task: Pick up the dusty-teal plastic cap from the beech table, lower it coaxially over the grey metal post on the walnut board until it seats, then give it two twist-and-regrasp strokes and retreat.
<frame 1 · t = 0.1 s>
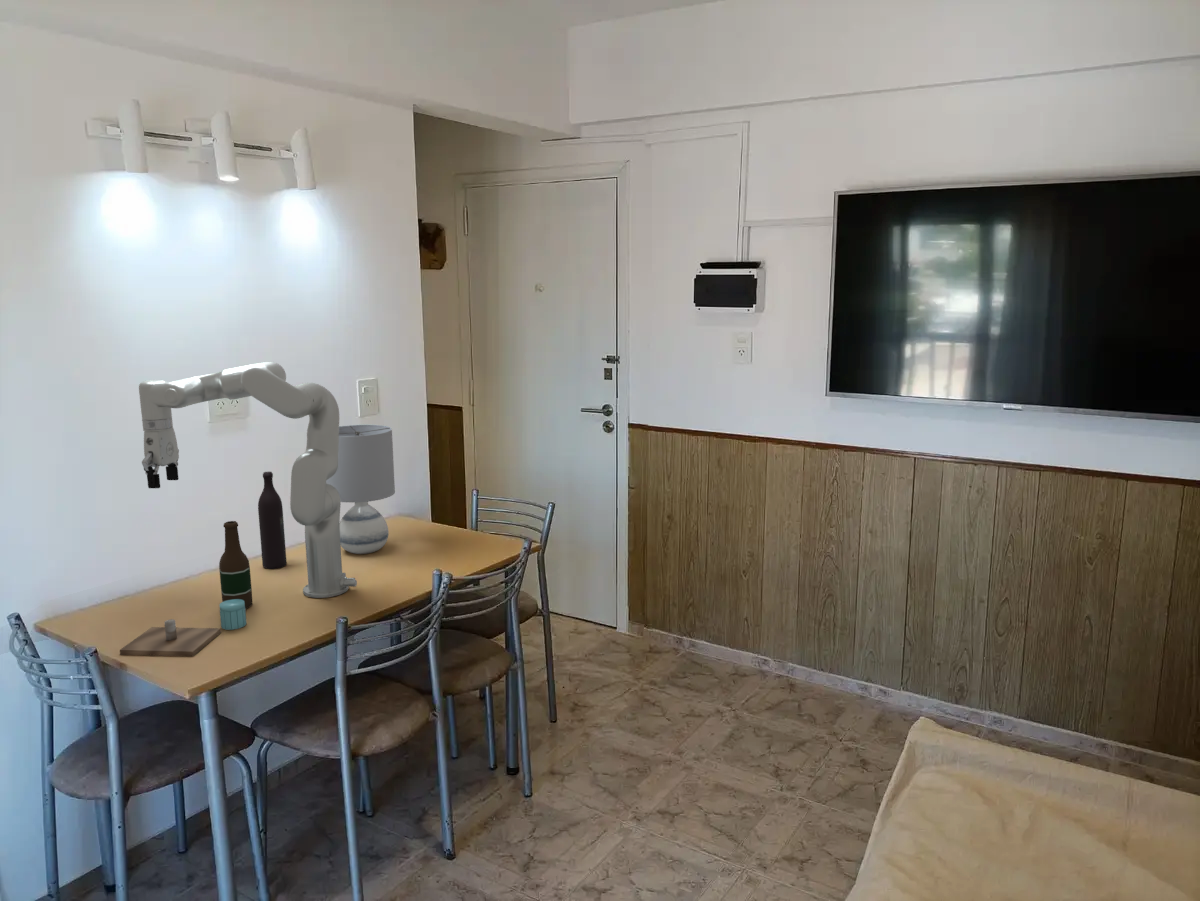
hand: (163, 483, 248), 31 cm above the table, fingers open, 9 cm apart
lamp: (364, 550, 290), on the table
wine bottle: (274, 566, 274), on the table
post board: (172, 643, 216), on the table
beer bottle: (237, 606, 241), on the table
cap: (233, 625, 228), on the table
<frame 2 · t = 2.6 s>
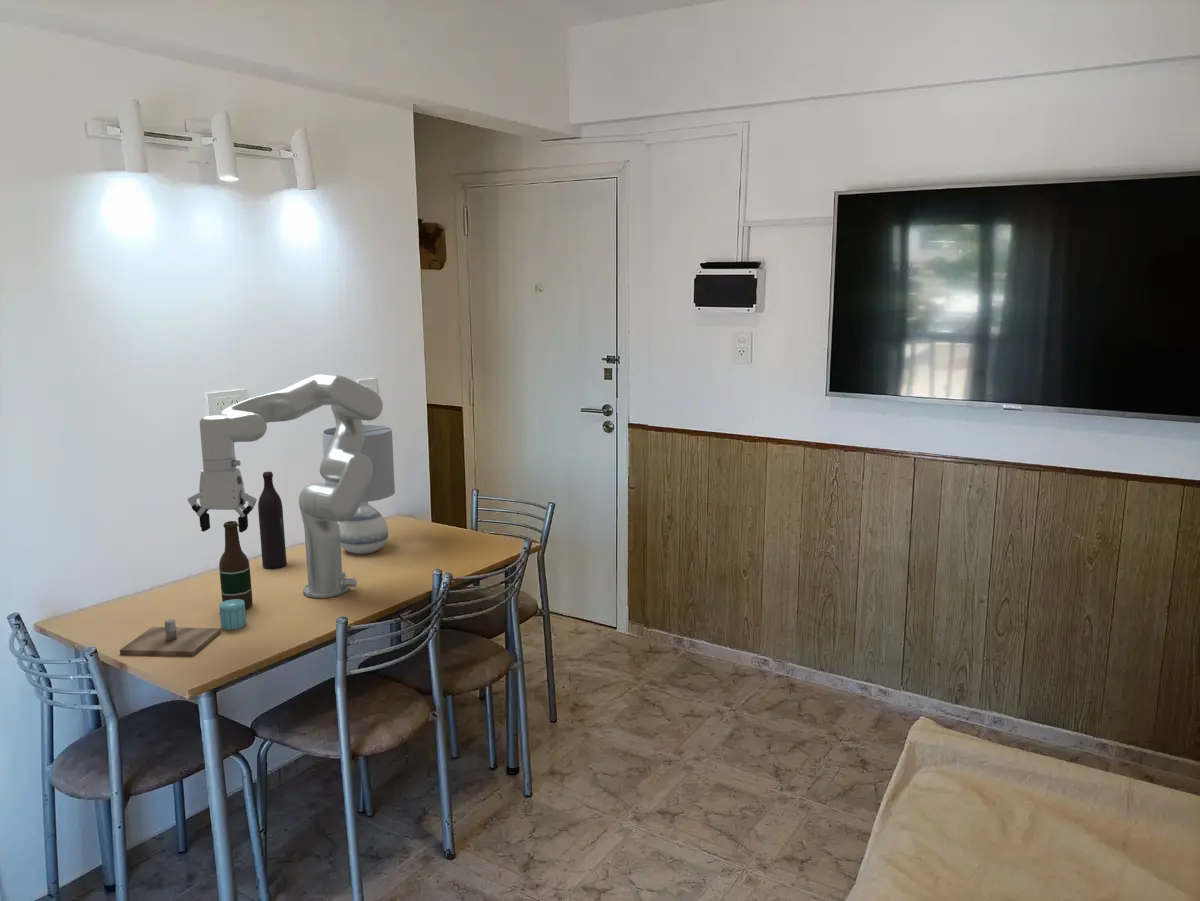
hand: (224, 530, 222), 26 cm above the table, fingers open, 9 cm apart
nothing on the table moved.
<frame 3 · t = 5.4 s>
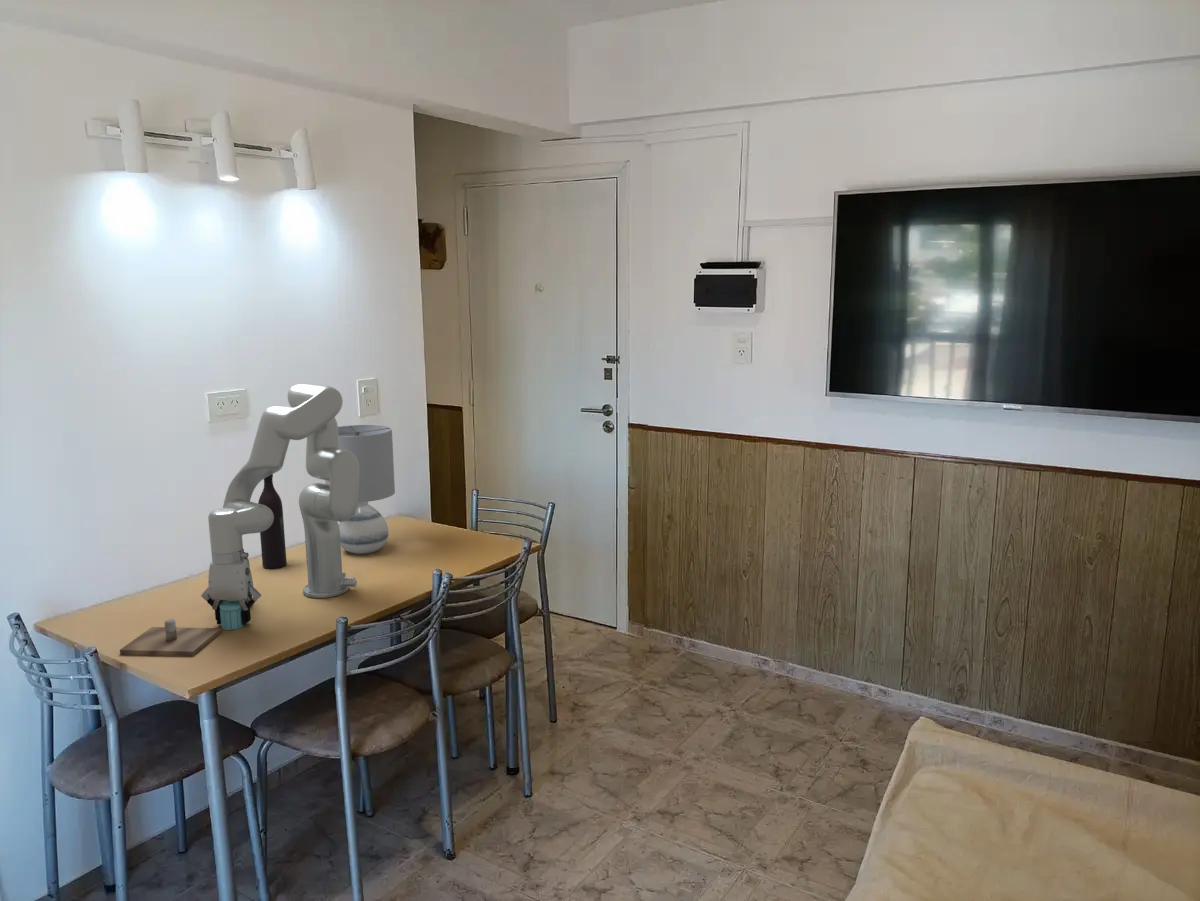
hand: (233, 622, 228), 1 cm above the table, fingers closed on cap, 6 cm apart
cap: (233, 625, 228), on the table, touching gripper
everything else where it was.
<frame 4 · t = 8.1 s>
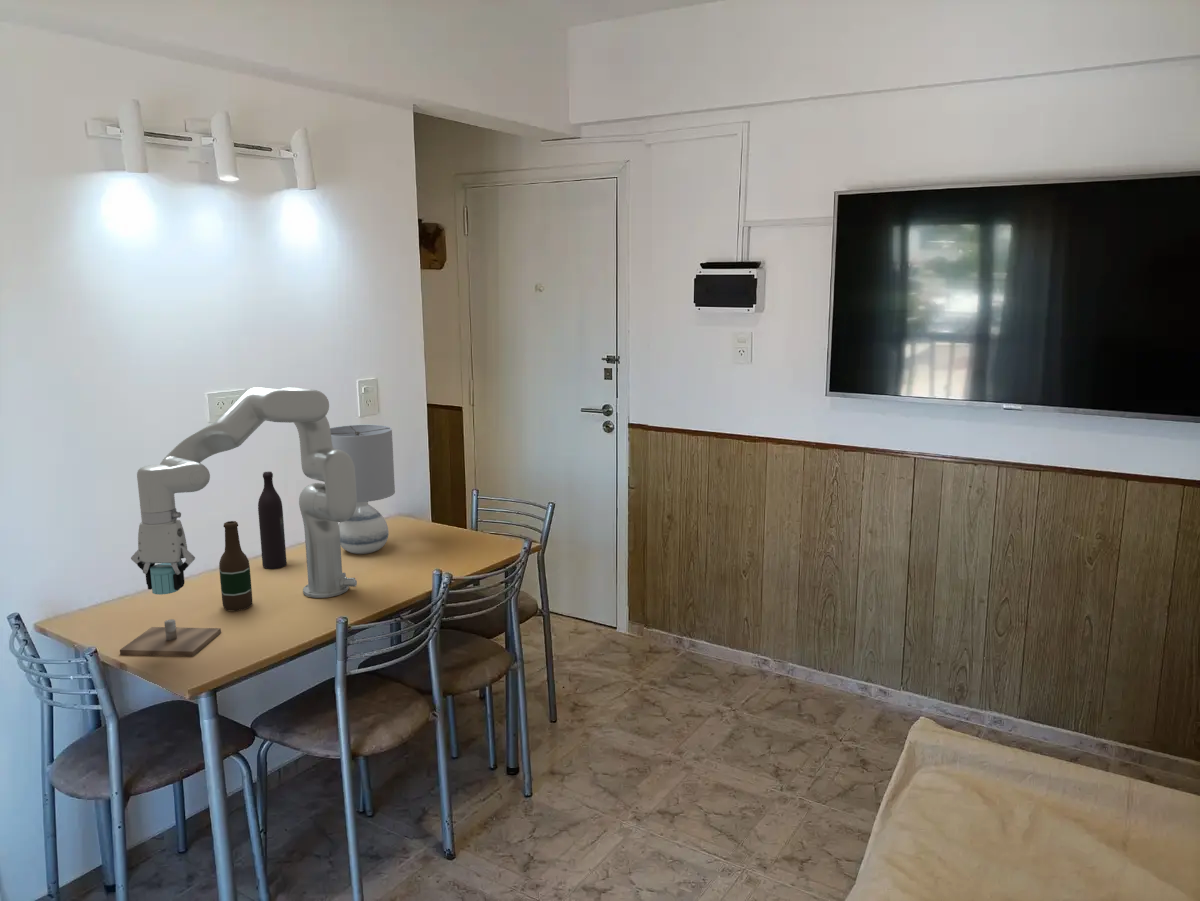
hand: (165, 587, 213), 15 cm above the table, fingers closed on cap, 6 cm apart
cap: (166, 590, 214), point 14 cm above the table, touching gripper
everything else where it was.
when the fingers open (4 cm above the table, at t = 10.9 s): cap drops 2 cm, resting on post board.
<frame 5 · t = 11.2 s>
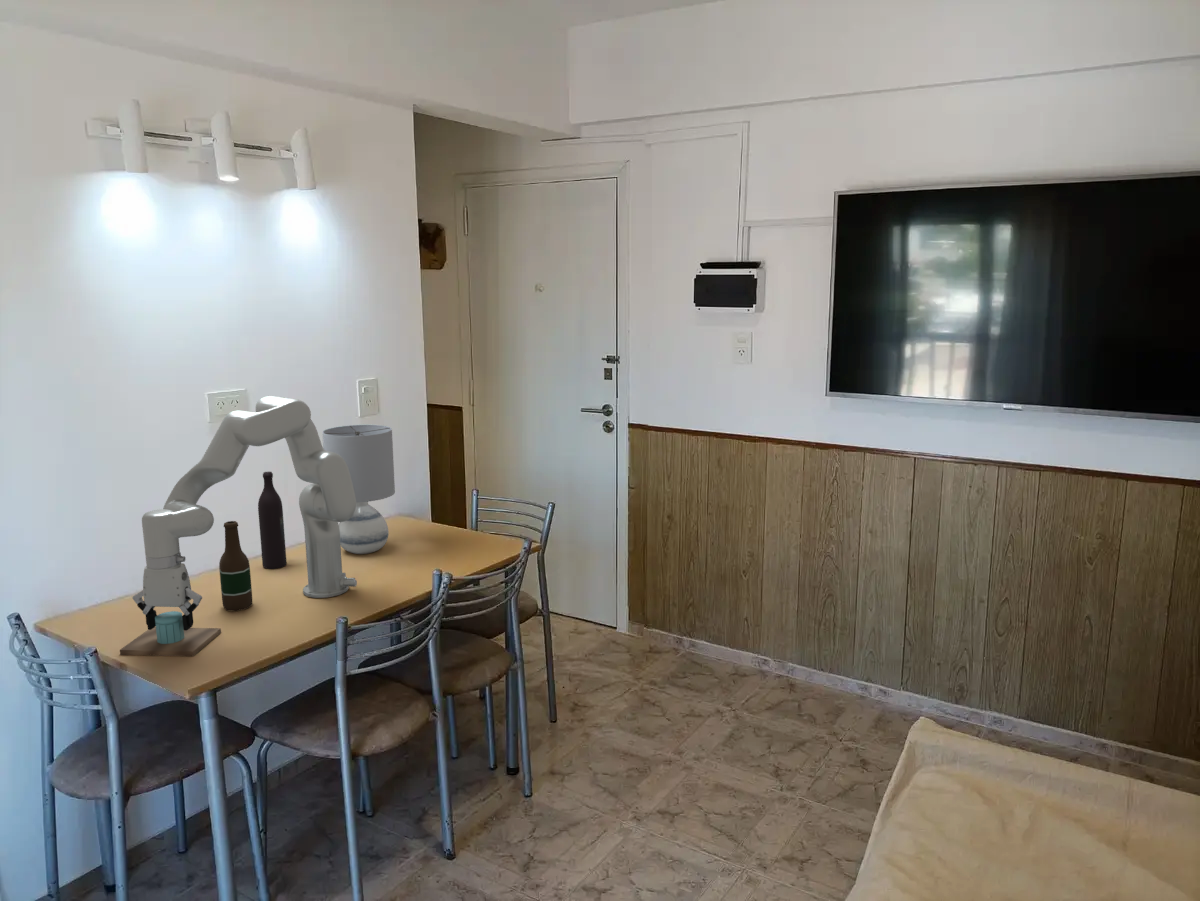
hand: (170, 627, 216), 4 cm above the table, fingers open, 8 cm apart
cap: (170, 638, 216), point 1 cm above the table, touching post board
everything else where it was.
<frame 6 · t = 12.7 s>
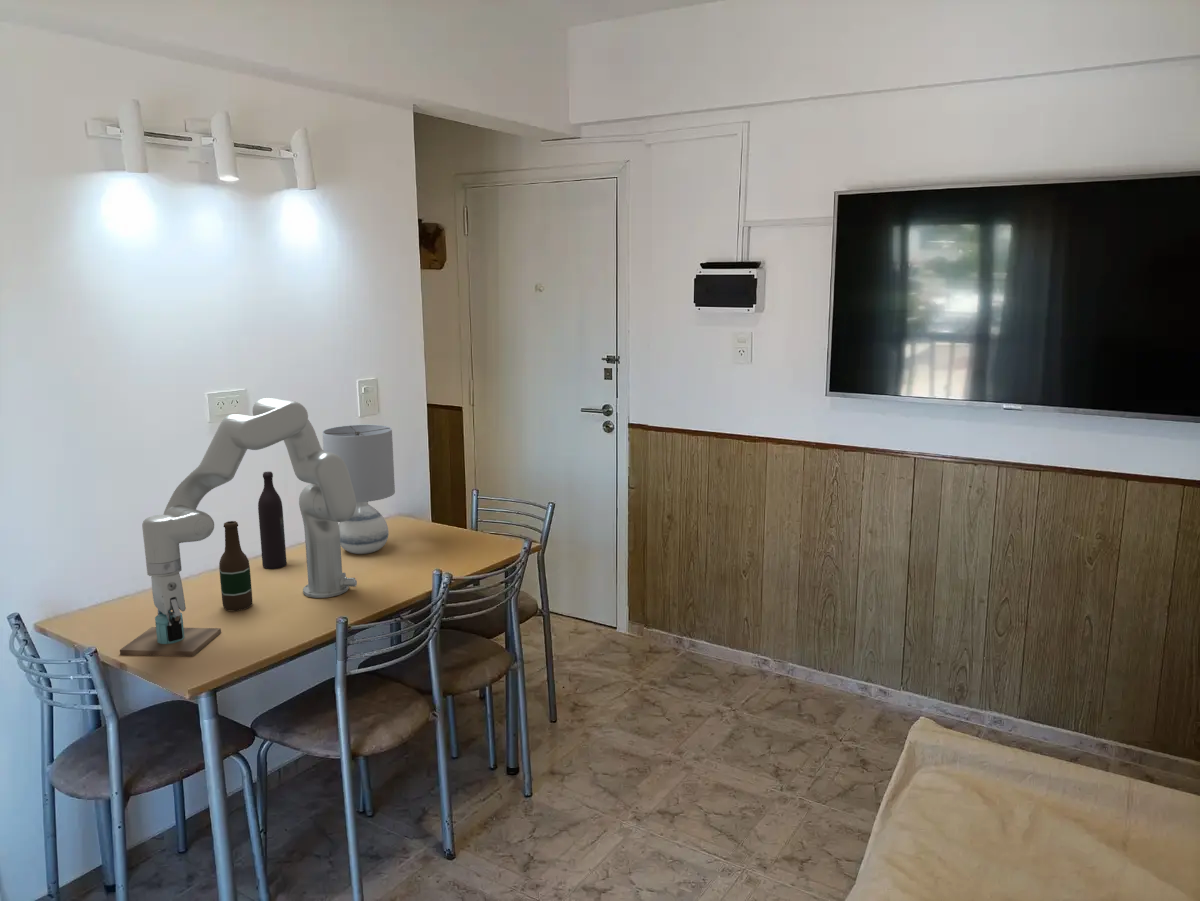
hand: (171, 634, 216), 2 cm above the table, fingers closed on cap, 6 cm apart
cap: (171, 638, 216), point 1 cm above the table, touching gripper, post board
everything else where it was.
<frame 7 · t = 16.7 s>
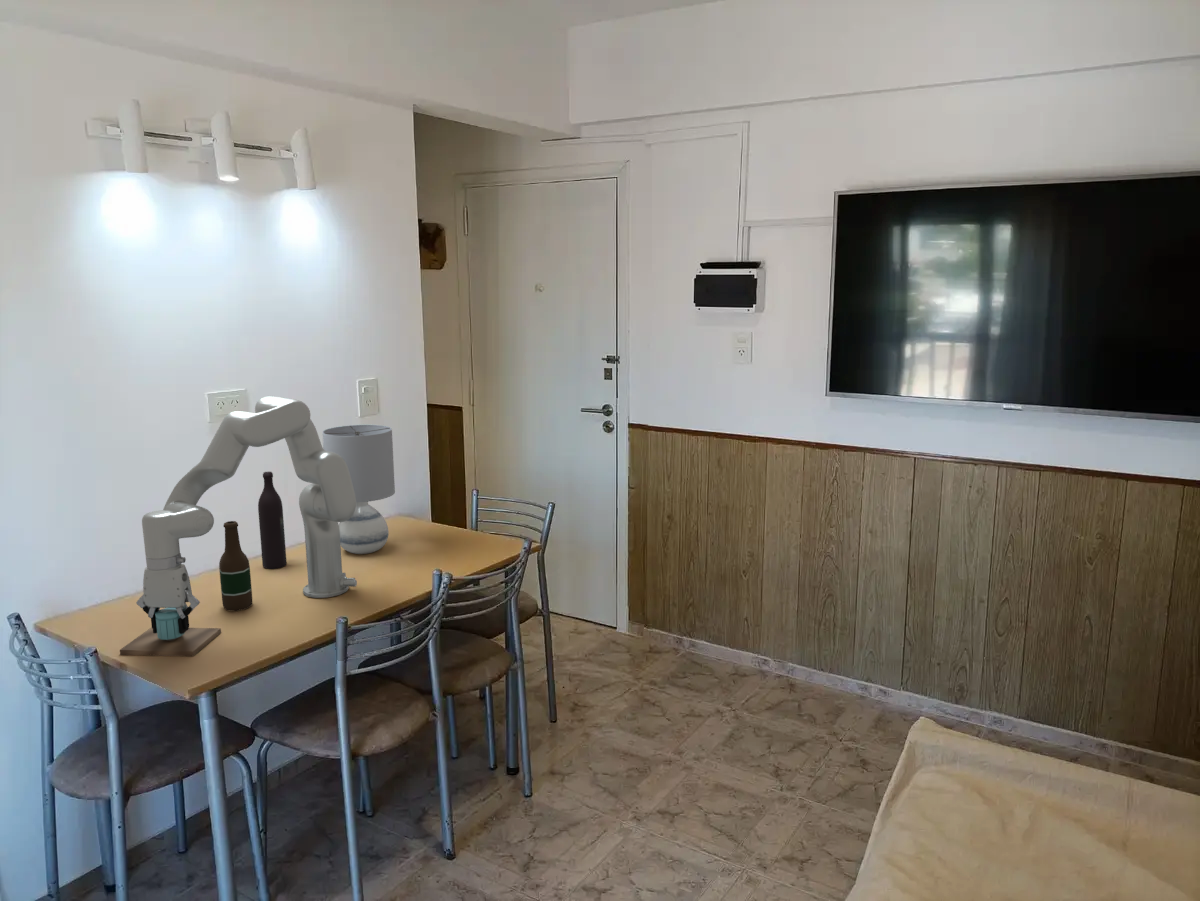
hand: (171, 630, 216), 3 cm above the table, fingers closed on cap, 5 cm apart
cap: (171, 634, 216), point 2 cm above the table, touching gripper
everything else where it was.
when the fingers open (3 cm above the table, at t = 16.8 s): cap drops 1 cm, resting on post board.
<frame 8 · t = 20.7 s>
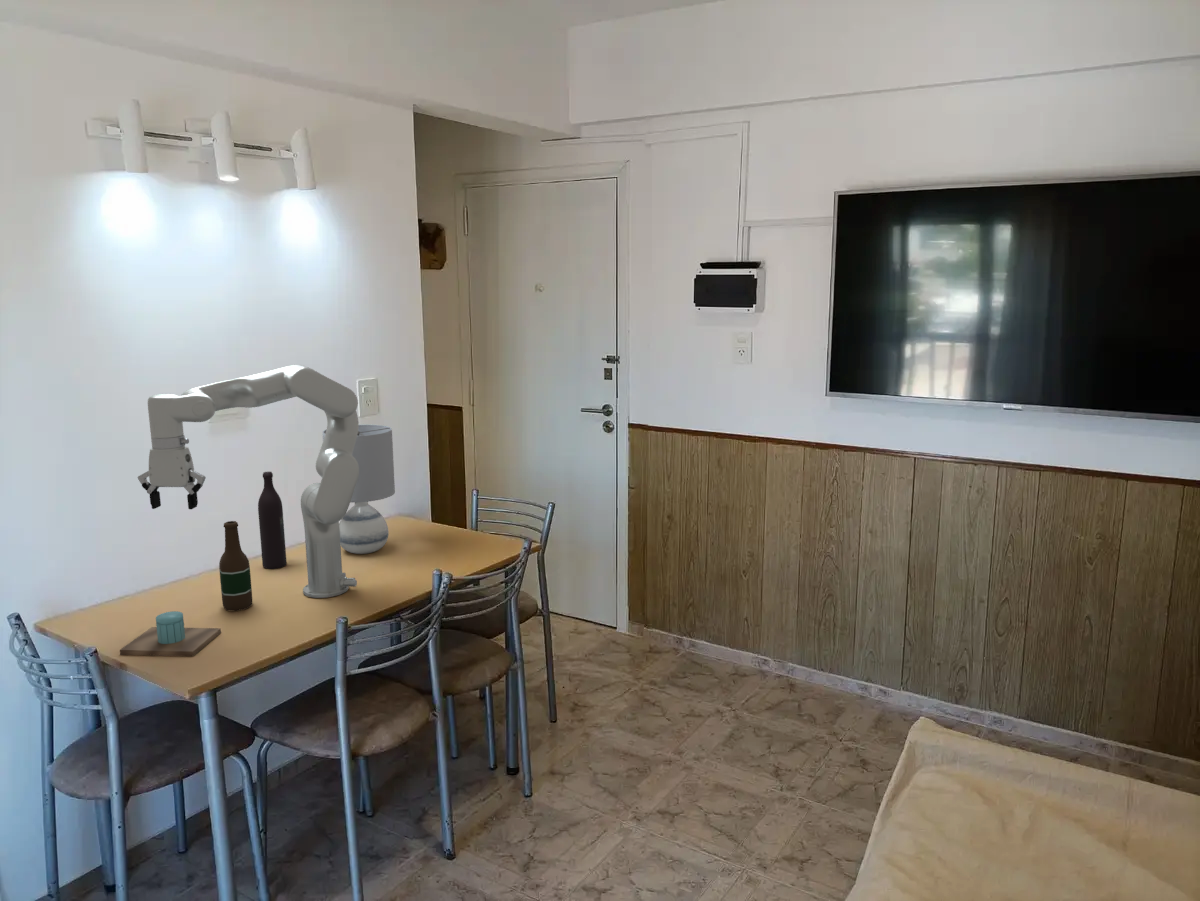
hand: (174, 507, 226), 30 cm above the table, fingers open, 9 cm apart
cap: (171, 638, 216), point 1 cm above the table, touching post board
everything else where it was.
at the end: cap 0.0 cm off-centre on the post board, point 1.2 cm above the post board's base; cap tilted 0°; the gripper is holding nothing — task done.
